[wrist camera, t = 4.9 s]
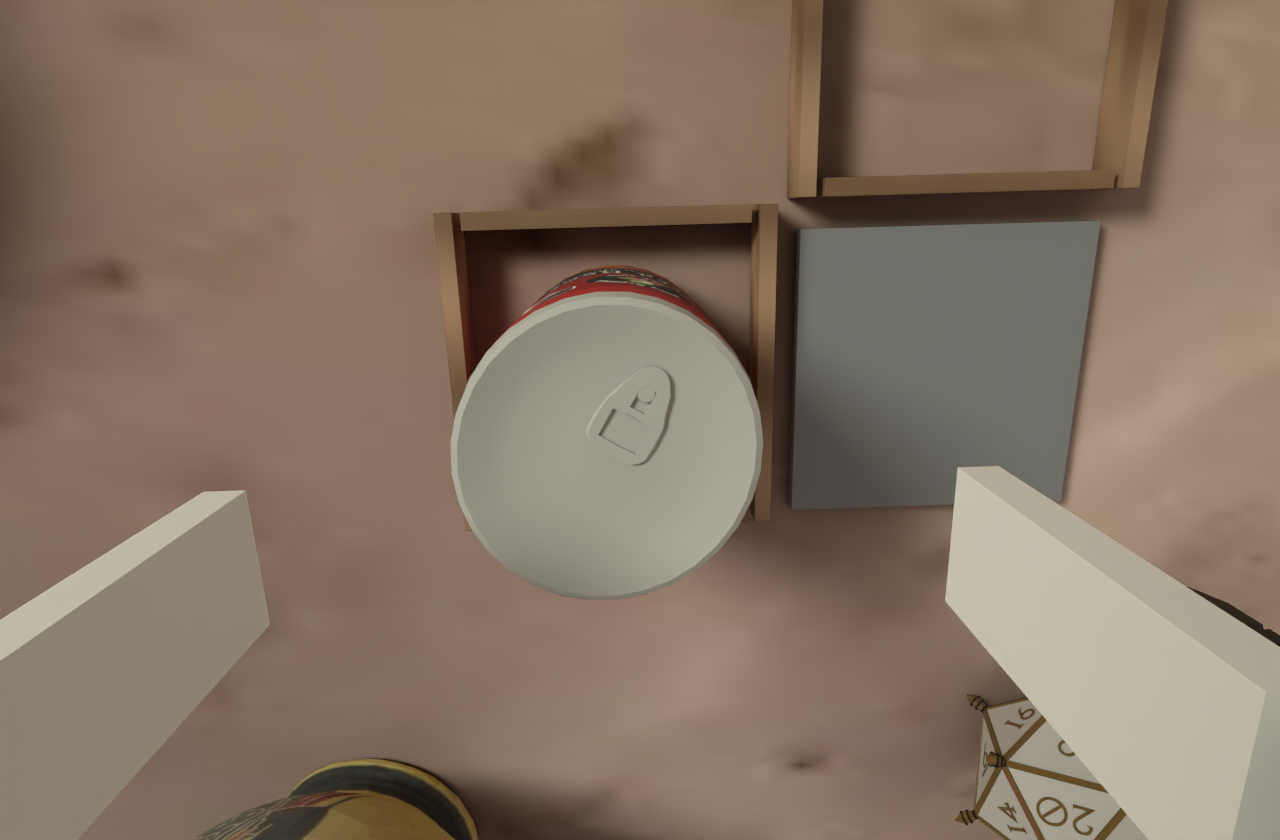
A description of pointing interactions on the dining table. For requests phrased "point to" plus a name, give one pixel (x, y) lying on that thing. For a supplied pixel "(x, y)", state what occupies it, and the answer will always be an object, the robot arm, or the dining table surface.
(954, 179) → the empty crate
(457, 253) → the frame
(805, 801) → the dining table surface
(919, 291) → the slate board
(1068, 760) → the game die
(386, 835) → the amphora
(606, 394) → the canned food
